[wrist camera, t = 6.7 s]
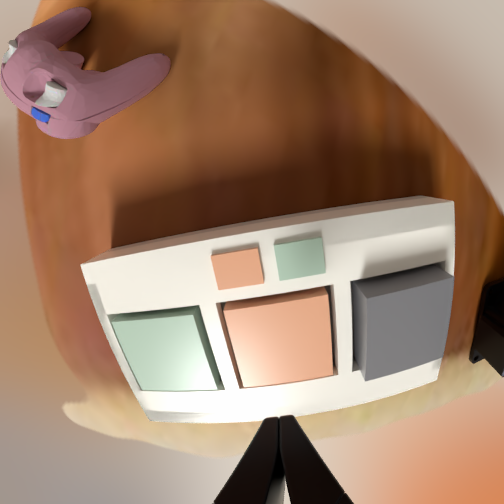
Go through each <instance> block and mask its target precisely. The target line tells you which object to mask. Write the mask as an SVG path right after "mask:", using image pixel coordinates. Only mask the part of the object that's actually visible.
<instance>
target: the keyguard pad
mask: <svg viewBox="0 0 504 504" xmlns="http://www.w3.org/2000/svg"><path fill="white" fill-rule="evenodd" d="M454 259H455V215H454V201H450V200H444V199H439V198H433V197H428V196H422V195H421V196H413V197H405V198H397V199H390V200H382V201H375V202H367V203H360V204H353V205H347V206H340V207H333V208H326V209H320V210H314V211H307V212H301V213H295V214H289V215H283V216H277V217H271V218H265V219H259V220H253V221H248V222H242V223H237V224H231V225H226V226H220V227H215V228H209V229H204V230H199V231H194V232H189V233H184V234H178V235H173V236H168V237H164V238H159V239H154V240H149V241H144V242H139V243H135V244H130V245H125V246H121V247H116V248H112V249H109V250H107V251H105V252H103V253H101V254H100V255H98V256H96V257H94V258H92V259H90V260H88V261H86V262H84V263H83V264H81V268H82V271H83V275H84V278H85V281H86V284H87V287H88V290H89V293H90V296H91V298H92V301H93V304H94V307H95V309H96V312H97V315H98V317H99V320H100V322H101V325H102V327H103V330H104V332H105V334H106V337H107V339H108V341H109V344H110V346H111V348H112V350H113V353H114V355H115V357H116V359H117V361H118V363H119V365H120V367H121V369H122V372H123V374H124V376H125V377H126V379H127V381H128V383H129V385H130V387H131V389H132V391H133V393H134V395H135V396H136V398H137V400H138V402H139V403H140V405H141V407H142V409H143V410H144V412H145V414H146V416H147V417H148V419H149V420H150V421H158V422H176V423H230V422H249V421H261V420H264V419H265V418H267V417H275V416H277V417H280V416H284V415H293V416H294V417H296V416H303V415H309V414H315V413H321V412H326V411H331V410H336V409H341V408H346V407H350V406H354V405H359V404H363V403H367V402H370V401H374V400H378V399H381V398H385V397H388V396H392V395H395V394H398V393H401V392H404V391H408V390H411V389H413V388H416V387H419V386H422V385H425V384H427V383H430V382H433V381H435V380H437V377H438V373H439V369H440V364H441V360H442V358H439V359H437V360H434V361H431V362H429V363H426V364H423V365H420V366H417V367H414V368H411V369H408V370H405V371H401V372H398V373H395V374H391V375H388V376H384V377H381V378H377V379H373V380H369V381H364V378H363V376H362V374H361V371H360V369H359V367H358V364H357V362H356V360H355V357H354V330H353V299H352V281H353V280H358V279H363V278H368V277H373V276H378V275H383V274H388V273H392V272H397V271H402V270H406V269H411V268H415V267H419V266H424V265H428V264H432V263H433V264H434V265H436V266H438V267H439V268H441V269H443V270H444V271H446V272H448V273H449V274H451V275H452V276H454ZM321 286H324V288H325V290H326V292H327V294H328V300H329V312H330V326H331V342H332V362H333V375H329V376H323V377H318V378H312V379H306V380H300V381H294V382H287V383H280V384H272V385H263V386H254V387H244V386H243V382H242V379H241V375H240V372H239V368H238V365H237V361H236V357H235V354H234V350H233V346H232V342H231V339H230V335H229V331H228V327H227V323H226V319H225V316H224V312H223V311H224V307H225V304H226V301H233V300H240V299H247V298H254V297H261V296H267V295H273V294H280V293H286V292H292V291H298V290H304V289H310V288H315V287H321ZM195 305H199V306H200V310H201V313H202V317H203V320H204V324H205V327H206V330H207V334H208V337H209V340H210V344H211V347H212V350H213V353H214V357H215V360H216V363H217V366H218V369H219V372H220V375H221V376H220V380H219V385H218V389H215V390H185V391H163V390H142V388H141V387H140V385H139V383H138V381H137V379H136V377H135V375H134V372H133V370H132V368H131V366H130V364H129V362H128V360H127V358H126V355H125V353H124V351H123V349H122V346H121V344H120V342H119V339H118V337H117V335H116V332H115V330H114V327H113V325H112V321H113V320H114V319H115V318H116V317H117V316H118V315H119V314H120V313H130V312H141V311H151V310H160V309H169V308H178V307H187V306H195Z"/></svg>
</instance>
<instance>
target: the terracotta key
mask: <svg viewBox="0 0 504 504" xmlns="http://www.w3.org/2000/svg"><path fill="white" fill-rule="evenodd" d="M223 312H224V316H225V319H226V323H227V327H228V331H229V335H230V339H231V342H232V346H233V350H234V354H235V357H236V361H237V365H238V368H239V372H240V375H241V379H242V382H243V386H244V387H254V386H263V385H272V384H280V383H287V382H294V381H300V380H306V379H312V378H318V377H323V376H329V375H333V362H332V342H331V326H330V312H329V300H328V294H327V292H326V290H325V288H324V286H321V287H315V288H310V289H304V290H298V291H292V292H286V293H280V294H273V295H267V296H261V297H254V298H247V299H240V300H233V301H226V304H225V307H224V311H223Z"/></svg>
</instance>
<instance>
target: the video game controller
mask: <svg viewBox="0 0 504 504" xmlns="http://www.w3.org/2000/svg"><path fill="white" fill-rule="evenodd" d="M90 19H91V12H90V10H89V9H87V8H85V7H76V8H72V9H68V10H66V11H64V12H62V13H59V14H58V15H56V16H54V17H52V18H50V19H48V20H46V21H45V22H43V23H41V24H38V25H36V26H34V27H32V28H30V29H28V30H26V31H23V32H22V33H20V34H19V35H18V36H17V37H16V39H15V40H11V41H9V49H8V50H7V52H6V53H5V54H4V56H3V59H2V66H1V74H0V80H1V85H2V88H3V90H4V92H5V94H6V95H7V97H8V98H9V99H10V100H11V101H12V103H14V104H15V105H16V106H17V107H18V108H19V109H20V110H22V111H23V112H25V113H27V114H28V115H30V116H31V117H33V118H35V119H36V124H37V126H38V128H39V129H40V130H42V131H43V132H44V133H46V134H48V135H50V136H52V137H57V138H63V139H73V138H79V137H82V136H85V135H88V134H90V133H91V132H93V131H94V130H95V129H96V128H97V126H98V125H99V124H100V122H102V121H105V120H106V119H108V118H110V117H111V116H113V115H115V114H117V113H118V112H120V111H122V110H123V109H125V108H127V107H129V106H130V105H132V104H133V103H135V102H136V101H138V100H140V99H141V98H143V97H144V96H146V95H147V94H148V93H150V92H151V91H152V90H153V89H154V88H155V87H156V86H157V85H159V84H160V83H161V82H162V81H163V79H164V78H165V77H166V76H167V75H168V73H169V69H170V66H171V64H170V59H169V57H167V56H166V55H164V54H162V53H157V54H148V55H145V56H142V57H139V58H136V59H134V60H132V61H130V62H127V63H125V64H123V65H121V66H119V67H116V68H114V69H111V70H108V71H106V72H102V73H101V72H99V71H94V70H81V67H82V65H83V62H84V57H83V56H82V55H80V54H79V53H75V52H70V51H59V50H58V48H59V47H61V46H62V45H64V44H65V43H67V42H68V41H69V40H71V39H72V38H73V37H75V36H76V35H77V34H78V33H79V32H80V31H81V30H82V29H83V28H84V27H85V26H86V25H87V24H88V22H89V21H90Z"/></svg>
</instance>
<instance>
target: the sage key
mask: <svg viewBox="0 0 504 504" xmlns="http://www.w3.org/2000/svg"><path fill="white" fill-rule="evenodd" d="M112 325H113V327H114V330H115V332H116V335H117V337H118V339H119V342H120V344H121V346H122V349H123V351H124V353H125V355H126V358H127V360H128V362H129V364H130V366H131V368H132V370H133V372H134V375H135V377H136V379H137V381H138V383H139V385H140V387H141V388H142V390H163V391H185V390H215V389H218V385H219V380H220V376H221V375H220V372H219V369H218V366H217V363H216V360H215V357H214V353H213V350H212V347H211V344H210V340H209V337H208V334H207V330H206V327H205V324H204V320H203V317H202V313H201V310H200V306H199V305H195V306H187V307H178V308H169V309H160V310H151V311H141V312H130V313H120V314H119V315H118V316H117V317H116V318H115V319H114V320H113V321H112Z"/></svg>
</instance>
